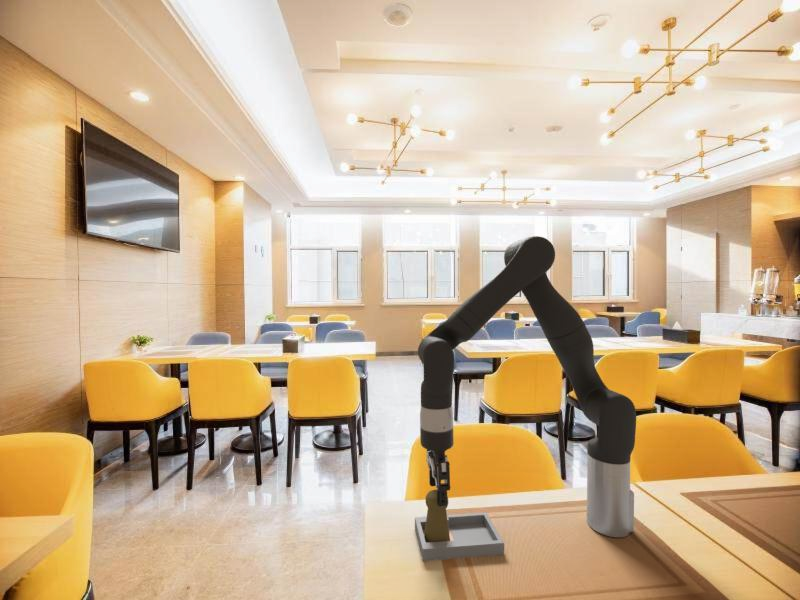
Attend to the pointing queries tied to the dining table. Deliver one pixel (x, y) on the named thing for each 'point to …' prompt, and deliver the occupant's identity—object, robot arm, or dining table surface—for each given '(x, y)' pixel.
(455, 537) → the grey shallow tray
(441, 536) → the olive pawn piece
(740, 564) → the dining table surface
